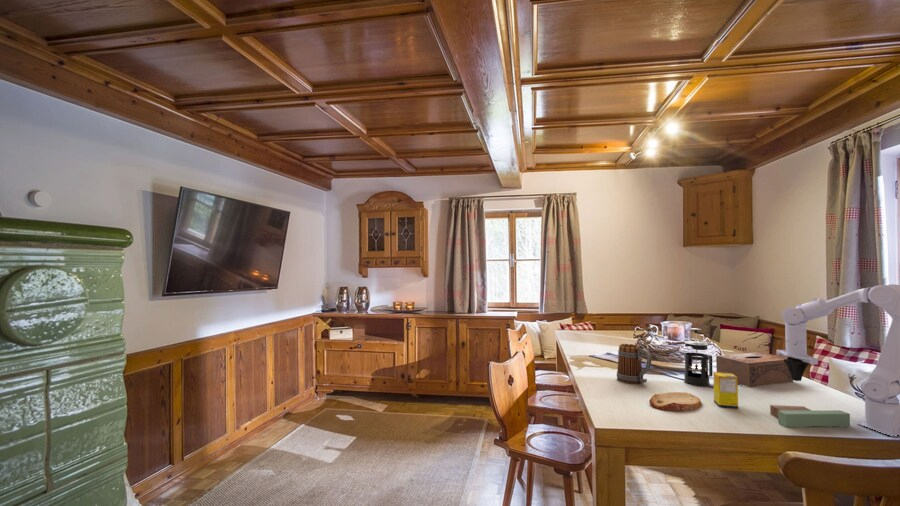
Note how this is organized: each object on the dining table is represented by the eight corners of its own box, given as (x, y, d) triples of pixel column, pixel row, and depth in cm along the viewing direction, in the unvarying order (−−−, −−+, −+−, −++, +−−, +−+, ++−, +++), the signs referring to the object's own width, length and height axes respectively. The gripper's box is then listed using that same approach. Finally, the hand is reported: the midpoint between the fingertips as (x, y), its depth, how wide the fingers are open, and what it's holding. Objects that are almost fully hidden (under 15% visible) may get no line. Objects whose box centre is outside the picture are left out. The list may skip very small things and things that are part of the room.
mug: (611, 378, 180) (610, 344, 180) (628, 376, 184) (628, 342, 185) (641, 388, 166) (640, 351, 166) (659, 385, 170) (659, 349, 171)
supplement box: (732, 403, 148) (731, 372, 149) (738, 408, 143) (738, 377, 143) (713, 401, 150) (712, 371, 150) (718, 407, 144) (718, 375, 145)
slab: (817, 424, 130) (816, 412, 130) (782, 422, 131) (782, 411, 132) (803, 417, 136) (803, 406, 136) (770, 415, 137) (770, 404, 138)
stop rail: (850, 426, 127) (849, 413, 127) (786, 427, 127) (786, 414, 127) (840, 423, 130) (840, 410, 130) (778, 423, 130) (778, 410, 130)
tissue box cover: (758, 373, 190) (758, 352, 190) (793, 382, 176) (792, 358, 176) (716, 378, 182) (716, 355, 182) (749, 387, 168) (748, 363, 169)
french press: (691, 386, 169) (690, 330, 169) (677, 380, 178) (677, 326, 179) (719, 386, 169) (718, 330, 170) (704, 379, 179) (703, 326, 179)
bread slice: (697, 399, 154) (696, 389, 154) (711, 416, 136) (711, 405, 137) (644, 394, 159) (644, 385, 159) (651, 410, 142) (651, 399, 142)
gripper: (768, 337, 152) (768, 374, 152) (803, 345, 138) (804, 386, 137) (786, 337, 152) (787, 374, 152) (823, 345, 138) (824, 386, 137)
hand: (796, 380), depth 145 cm, fingers closed
